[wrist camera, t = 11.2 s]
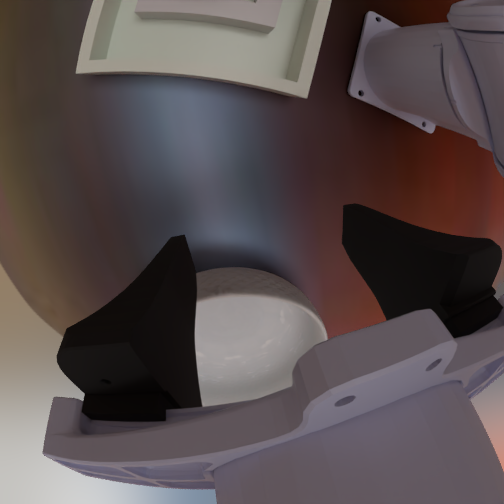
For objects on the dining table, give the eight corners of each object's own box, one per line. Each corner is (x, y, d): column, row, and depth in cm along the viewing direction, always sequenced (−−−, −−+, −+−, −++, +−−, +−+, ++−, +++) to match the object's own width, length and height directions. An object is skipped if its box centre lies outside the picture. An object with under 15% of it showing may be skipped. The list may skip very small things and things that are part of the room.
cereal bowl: (275, 362, 34) (287, 409, 28) (143, 352, 29) (137, 403, 24) (332, 254, 25) (365, 306, 19) (148, 224, 21) (128, 279, 15)
